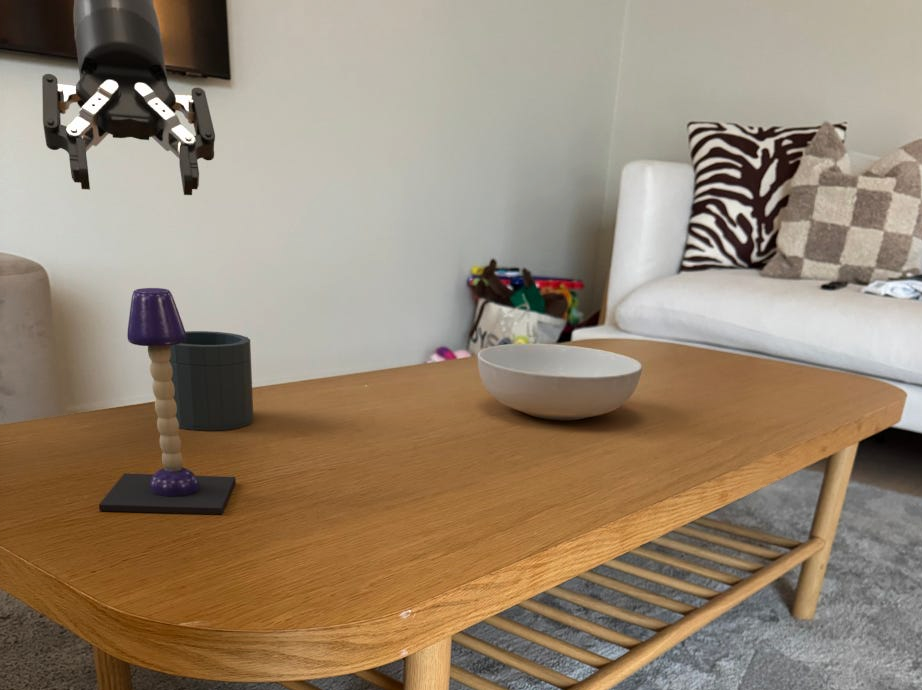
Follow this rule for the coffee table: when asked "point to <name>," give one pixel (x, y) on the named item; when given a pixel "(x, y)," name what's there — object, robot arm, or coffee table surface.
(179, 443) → the toy lamp
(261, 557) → the coffee table surface
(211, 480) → the mat
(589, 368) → the serving bowl
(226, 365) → the jar
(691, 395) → the coffee table surface
